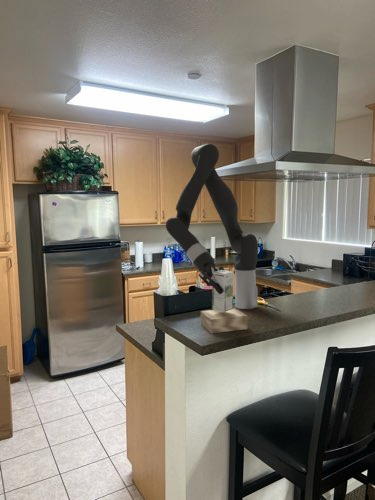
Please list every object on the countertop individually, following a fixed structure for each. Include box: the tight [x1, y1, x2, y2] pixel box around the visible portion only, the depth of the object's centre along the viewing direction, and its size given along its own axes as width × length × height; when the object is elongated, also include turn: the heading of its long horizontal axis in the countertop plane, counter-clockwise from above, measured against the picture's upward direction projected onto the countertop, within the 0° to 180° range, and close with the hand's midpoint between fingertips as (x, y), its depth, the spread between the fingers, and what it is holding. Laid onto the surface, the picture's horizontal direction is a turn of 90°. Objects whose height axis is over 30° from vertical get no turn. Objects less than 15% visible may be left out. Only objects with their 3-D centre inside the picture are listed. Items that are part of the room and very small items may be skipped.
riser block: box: [200, 307, 248, 334], centre depth 136 cm, size 14×12×5 cm
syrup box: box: [211, 269, 234, 312], centre depth 135 cm, size 6×6×14 cm
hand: (226, 291), depth 134 cm, fingers closed on syrup box, 5 cm apart
